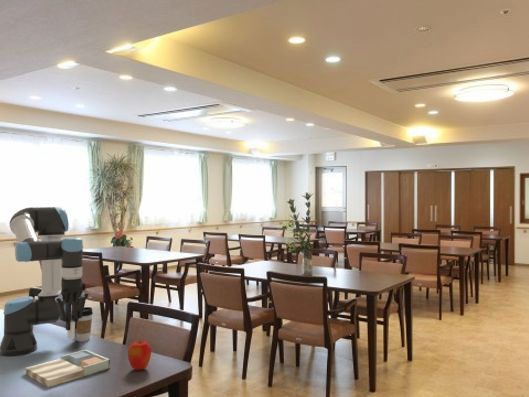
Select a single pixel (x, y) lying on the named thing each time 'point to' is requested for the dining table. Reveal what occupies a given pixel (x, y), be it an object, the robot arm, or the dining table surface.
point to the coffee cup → (84, 325)
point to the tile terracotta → (90, 361)
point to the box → (92, 367)
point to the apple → (139, 355)
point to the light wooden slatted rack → (54, 372)
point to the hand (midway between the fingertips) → (71, 337)
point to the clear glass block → (78, 358)
